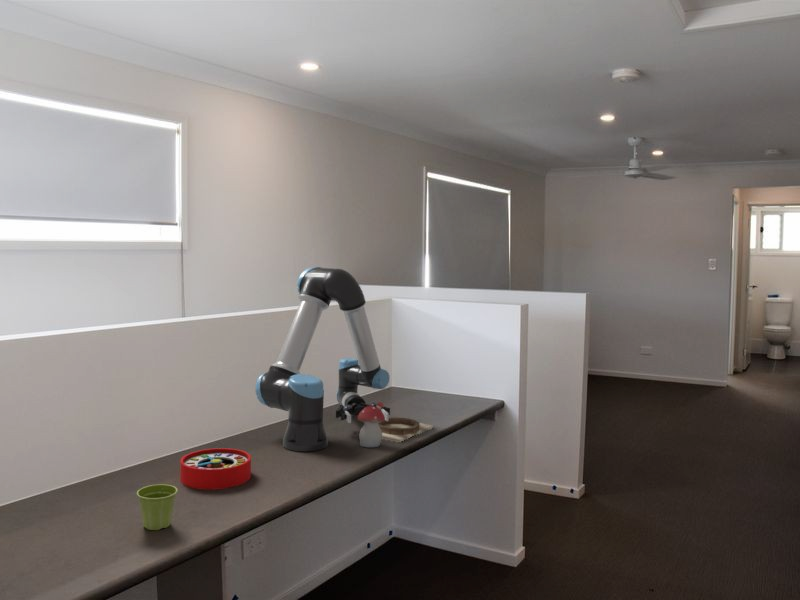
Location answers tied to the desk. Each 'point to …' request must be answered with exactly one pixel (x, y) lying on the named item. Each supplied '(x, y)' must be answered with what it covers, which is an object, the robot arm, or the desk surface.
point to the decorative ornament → (371, 425)
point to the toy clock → (215, 468)
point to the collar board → (403, 437)
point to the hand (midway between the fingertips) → (369, 418)
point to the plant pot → (157, 505)
